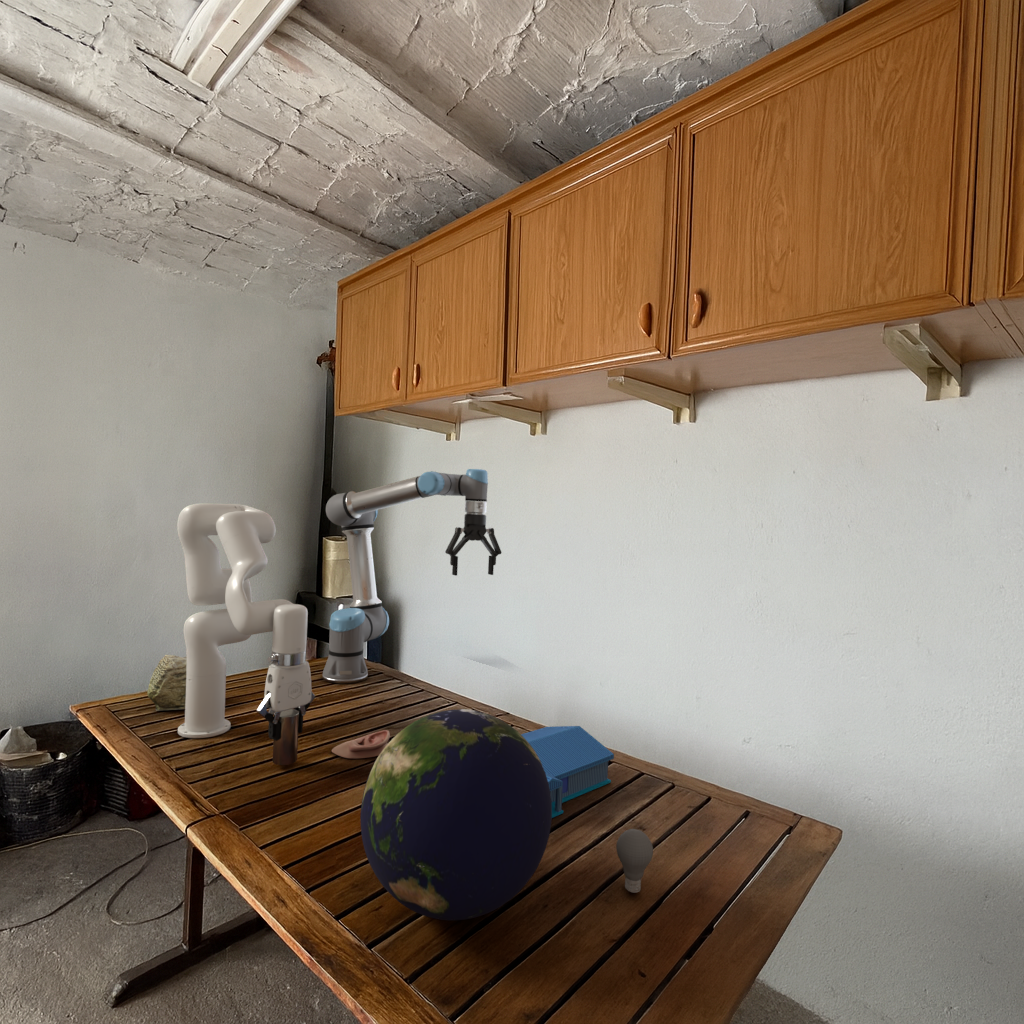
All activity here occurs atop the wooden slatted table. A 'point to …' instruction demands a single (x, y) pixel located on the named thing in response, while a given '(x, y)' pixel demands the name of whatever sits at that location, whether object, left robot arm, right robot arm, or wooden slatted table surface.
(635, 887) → the light bulb
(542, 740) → the model building
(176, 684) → the fossil
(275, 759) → the can
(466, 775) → the globe
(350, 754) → the anatomical model
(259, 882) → the wooden slatted table surface
